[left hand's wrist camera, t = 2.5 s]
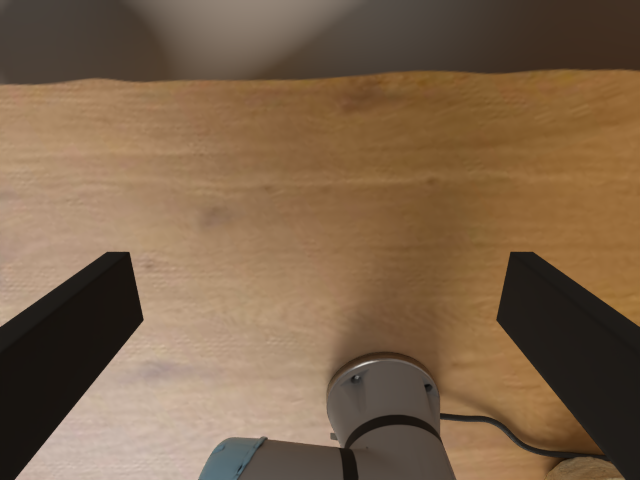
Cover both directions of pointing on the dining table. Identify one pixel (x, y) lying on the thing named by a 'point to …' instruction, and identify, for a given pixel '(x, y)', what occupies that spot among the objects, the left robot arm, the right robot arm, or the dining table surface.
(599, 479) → the bowl
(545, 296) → the left robot arm
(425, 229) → the dining table surface
